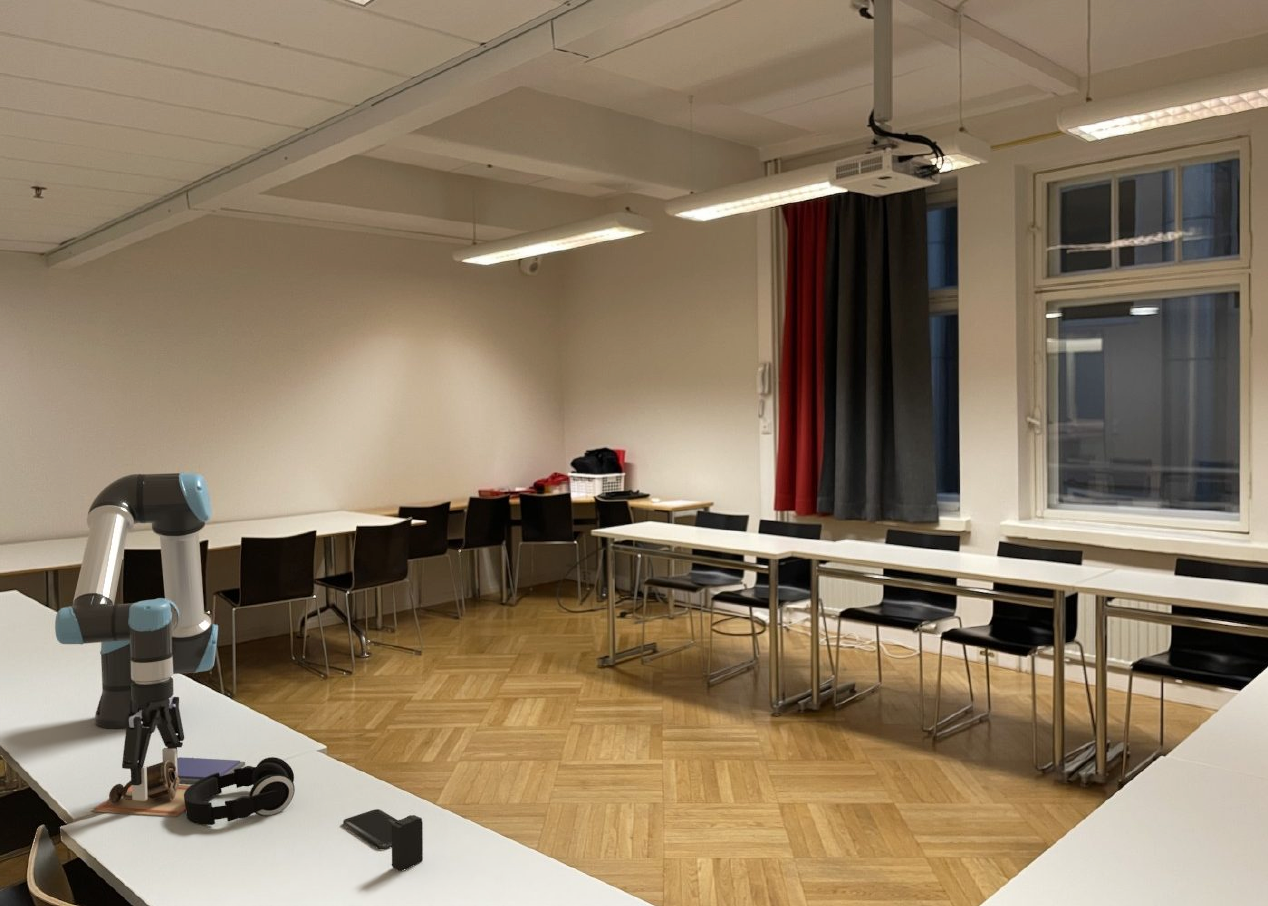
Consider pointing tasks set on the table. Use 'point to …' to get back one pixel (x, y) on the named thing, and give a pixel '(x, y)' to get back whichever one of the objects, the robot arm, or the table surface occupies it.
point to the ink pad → (204, 768)
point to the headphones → (264, 798)
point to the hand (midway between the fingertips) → (155, 789)
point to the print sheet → (147, 805)
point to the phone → (372, 827)
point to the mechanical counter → (152, 783)
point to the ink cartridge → (407, 842)
